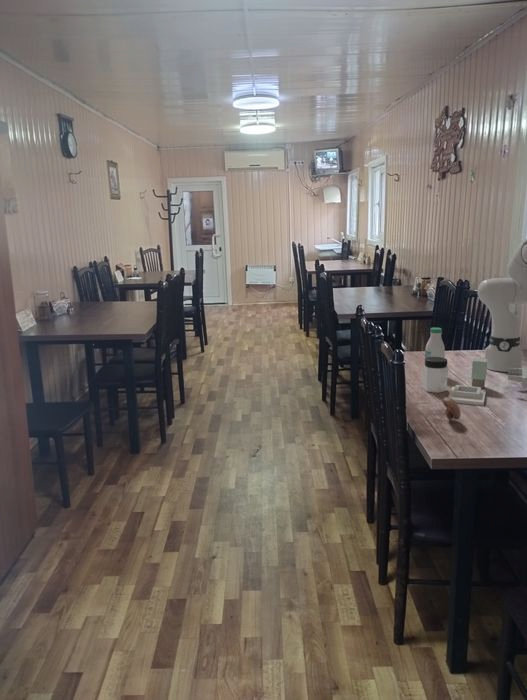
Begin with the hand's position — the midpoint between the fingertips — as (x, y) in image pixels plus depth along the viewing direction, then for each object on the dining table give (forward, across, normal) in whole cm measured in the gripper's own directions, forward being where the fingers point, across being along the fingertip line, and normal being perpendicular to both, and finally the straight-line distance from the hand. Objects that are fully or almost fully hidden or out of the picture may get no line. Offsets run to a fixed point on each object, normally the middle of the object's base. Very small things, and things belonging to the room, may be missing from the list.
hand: (508, 373), depth 211 cm
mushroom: (+16, +42, +7) cm, 46 cm away
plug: (+10, 0, +6) cm, 12 cm away
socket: (+13, +14, +6) cm, 20 cm away
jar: (+25, +8, +7) cm, 27 cm away
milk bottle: (+28, -12, +7) cm, 31 cm away
